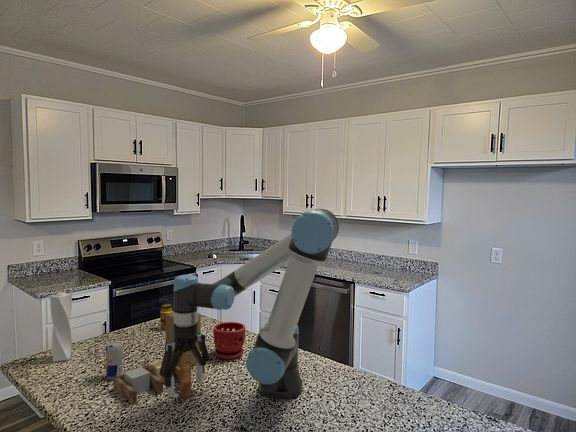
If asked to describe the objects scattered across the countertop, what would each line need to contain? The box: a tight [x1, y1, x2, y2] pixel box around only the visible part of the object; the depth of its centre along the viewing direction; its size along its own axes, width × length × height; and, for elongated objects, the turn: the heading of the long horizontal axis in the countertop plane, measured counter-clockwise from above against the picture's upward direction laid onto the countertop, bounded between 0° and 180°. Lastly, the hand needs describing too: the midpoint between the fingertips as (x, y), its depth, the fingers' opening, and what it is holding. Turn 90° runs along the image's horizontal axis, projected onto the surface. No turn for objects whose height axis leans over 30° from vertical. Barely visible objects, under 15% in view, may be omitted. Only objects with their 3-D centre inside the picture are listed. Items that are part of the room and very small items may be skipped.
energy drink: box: [105, 341, 124, 381], centre depth 138 cm, size 5×5×12 cm
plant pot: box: [212, 321, 246, 360], centre depth 159 cm, size 13×13×12 cm
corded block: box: [148, 358, 192, 400], centre depth 132 cm, size 20×6×11 cm, turn 48°
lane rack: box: [113, 364, 180, 406], centre depth 133 cm, size 14×20×4 cm
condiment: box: [156, 303, 174, 333], centre depth 186 cm, size 7×8×12 cm
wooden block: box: [165, 311, 202, 367], centre depth 150 cm, size 10×10×20 cm
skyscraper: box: [47, 287, 74, 364], centre depth 151 cm, size 8×8×28 cm
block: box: [123, 366, 151, 395], centre depth 130 cm, size 6×6×6 cm
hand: (185, 389), depth 127 cm, fingers open, 10 cm apart
